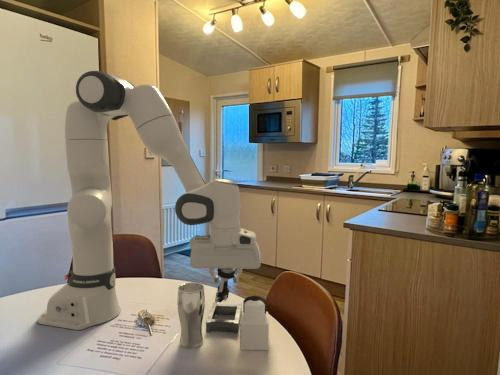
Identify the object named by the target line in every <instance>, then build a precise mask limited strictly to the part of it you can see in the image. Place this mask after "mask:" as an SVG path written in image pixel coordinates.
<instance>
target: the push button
mask: <svg viewBox="0 0 500 375" xmlns="http://www.w3.org/2000/svg"><path fill="white" fill-rule="evenodd" d="M216 269H217V275H218V276H219V277H220V283H219V285H218V286H217V289H216V290H217V292H216V293H215V298H214V303H217V304H218V303H219V304H222V302H223V301H227V299H228V298H229V295H230V289H229V288H228V285H229V280H231V279H233V276H234V275H235V274H236V269H230V268H216Z"/></svg>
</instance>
